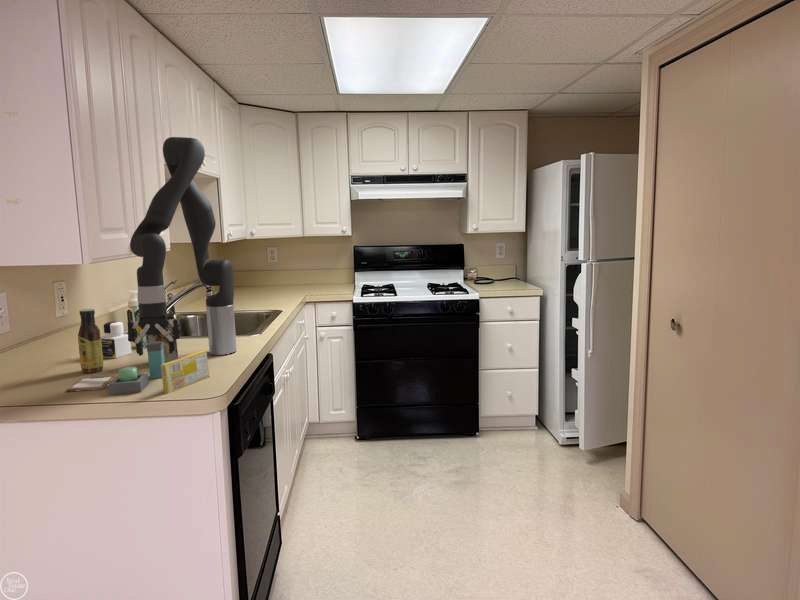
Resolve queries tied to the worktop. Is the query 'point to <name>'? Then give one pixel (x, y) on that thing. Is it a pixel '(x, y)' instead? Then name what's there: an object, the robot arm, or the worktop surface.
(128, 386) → the button housing
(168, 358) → the coffee box
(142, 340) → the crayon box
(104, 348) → the medicine bottle
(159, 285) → the robot arm
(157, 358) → the teal and grey block
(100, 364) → the sauce bottle
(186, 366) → the candy box
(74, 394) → the worktop surface
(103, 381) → the clipboard
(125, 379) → the button
